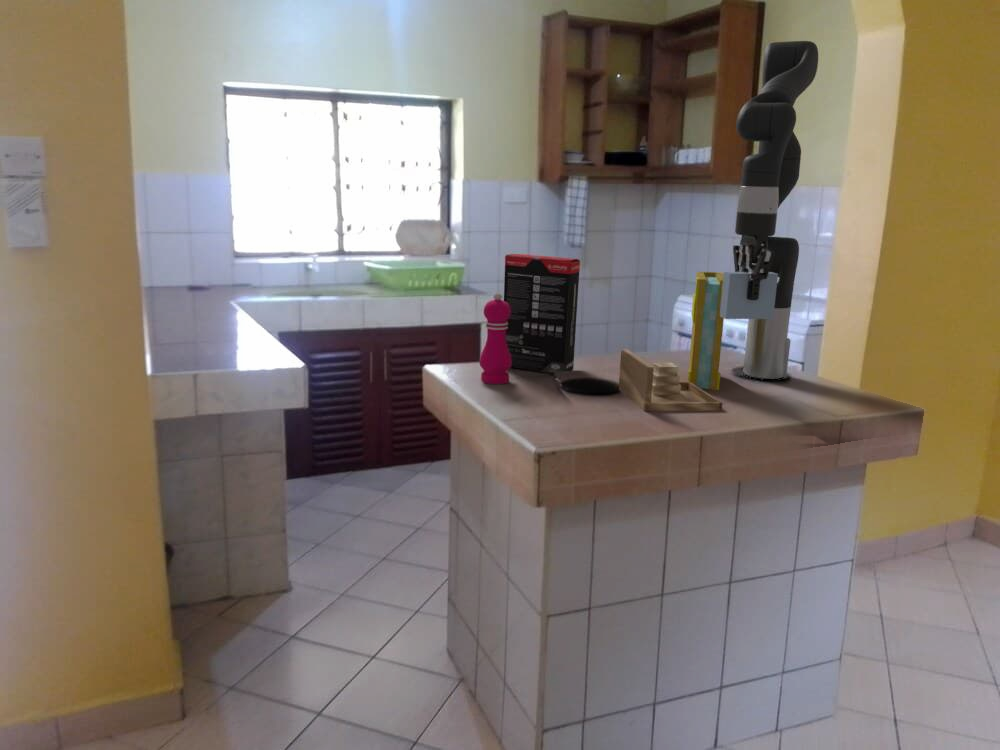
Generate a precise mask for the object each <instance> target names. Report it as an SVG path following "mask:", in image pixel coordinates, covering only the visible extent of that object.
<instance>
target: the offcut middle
mask: <svg viewBox="0 0 1000 750" xmlns="http://www.w3.org/2000/svg"><path fill="white" fill-rule="evenodd" d="M679 382H680V375H679V374H677V376H658V375H657V374H655V373H654V372H653V384H655V385H656V386H662V385H679Z"/></svg>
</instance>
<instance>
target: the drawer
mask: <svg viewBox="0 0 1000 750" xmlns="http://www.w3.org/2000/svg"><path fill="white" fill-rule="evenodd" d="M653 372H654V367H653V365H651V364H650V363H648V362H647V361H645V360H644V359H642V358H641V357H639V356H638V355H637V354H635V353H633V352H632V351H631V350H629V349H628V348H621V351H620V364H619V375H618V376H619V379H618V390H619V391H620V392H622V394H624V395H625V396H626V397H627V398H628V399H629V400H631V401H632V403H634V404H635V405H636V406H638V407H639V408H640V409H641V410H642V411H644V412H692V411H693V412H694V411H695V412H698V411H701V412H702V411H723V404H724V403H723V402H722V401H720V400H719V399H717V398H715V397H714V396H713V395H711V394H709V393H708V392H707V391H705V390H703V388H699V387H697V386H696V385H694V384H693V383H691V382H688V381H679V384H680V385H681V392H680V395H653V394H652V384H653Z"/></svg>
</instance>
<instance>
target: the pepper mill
mask: <svg viewBox="0 0 1000 750" xmlns="http://www.w3.org/2000/svg"><path fill="white" fill-rule="evenodd" d="M502 296H503V295H502V293H500V292H495V293H494V295H493V299H491V300H489V301H488V302H487V303H485V305H484V307H483V315H484V318H486V321H485V328H486V329H487V330H486V333H487V336H486V342H485V345H484V347H483V349H482V351H481V354H480V356H479V366H480V367H481V369H482V370H483V371H482V372H481V374H480V375H481V376H480V380H481V382H483V383H484V382H485V384H488V383H490V385H503V384H504V385H505V384H507V383H509V381H510V373H509V372H508V370H509V369H511V368H512V367H511V365H512V359H511V355H510V352H509V349H508V347H507V344H506V329H507V328H508V322H506V321H507V319H508V318H509V317H510V315H511V309H510V306H509V304H508V303H507V302H505V301H504V299H502Z"/></svg>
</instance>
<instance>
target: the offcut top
mask: <svg viewBox="0 0 1000 750" xmlns="http://www.w3.org/2000/svg"><path fill="white" fill-rule="evenodd" d="M652 366H653V367H654V373H655V374H657V375H658V376H677V375H679V374H678V373H679V366H678V365H677V364H676V365H675V363H672V362H653V364H652Z"/></svg>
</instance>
